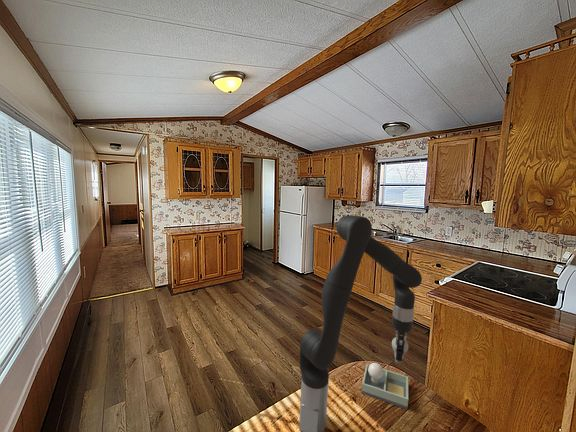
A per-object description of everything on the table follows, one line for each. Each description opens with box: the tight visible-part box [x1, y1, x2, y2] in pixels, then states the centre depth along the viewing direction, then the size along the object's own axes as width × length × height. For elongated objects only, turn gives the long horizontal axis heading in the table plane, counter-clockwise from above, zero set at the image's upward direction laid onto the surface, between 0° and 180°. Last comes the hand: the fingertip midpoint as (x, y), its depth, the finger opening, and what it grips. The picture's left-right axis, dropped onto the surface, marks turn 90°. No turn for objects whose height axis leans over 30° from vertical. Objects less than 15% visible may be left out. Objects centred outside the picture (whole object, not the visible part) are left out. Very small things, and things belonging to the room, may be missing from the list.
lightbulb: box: [391, 336, 409, 365], centre depth 103 cm, size 6×6×11 cm
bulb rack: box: [361, 362, 409, 410], centre depth 107 cm, size 13×17×10 cm
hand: (398, 355), depth 103 cm, fingers closed on lightbulb, 6 cm apart
